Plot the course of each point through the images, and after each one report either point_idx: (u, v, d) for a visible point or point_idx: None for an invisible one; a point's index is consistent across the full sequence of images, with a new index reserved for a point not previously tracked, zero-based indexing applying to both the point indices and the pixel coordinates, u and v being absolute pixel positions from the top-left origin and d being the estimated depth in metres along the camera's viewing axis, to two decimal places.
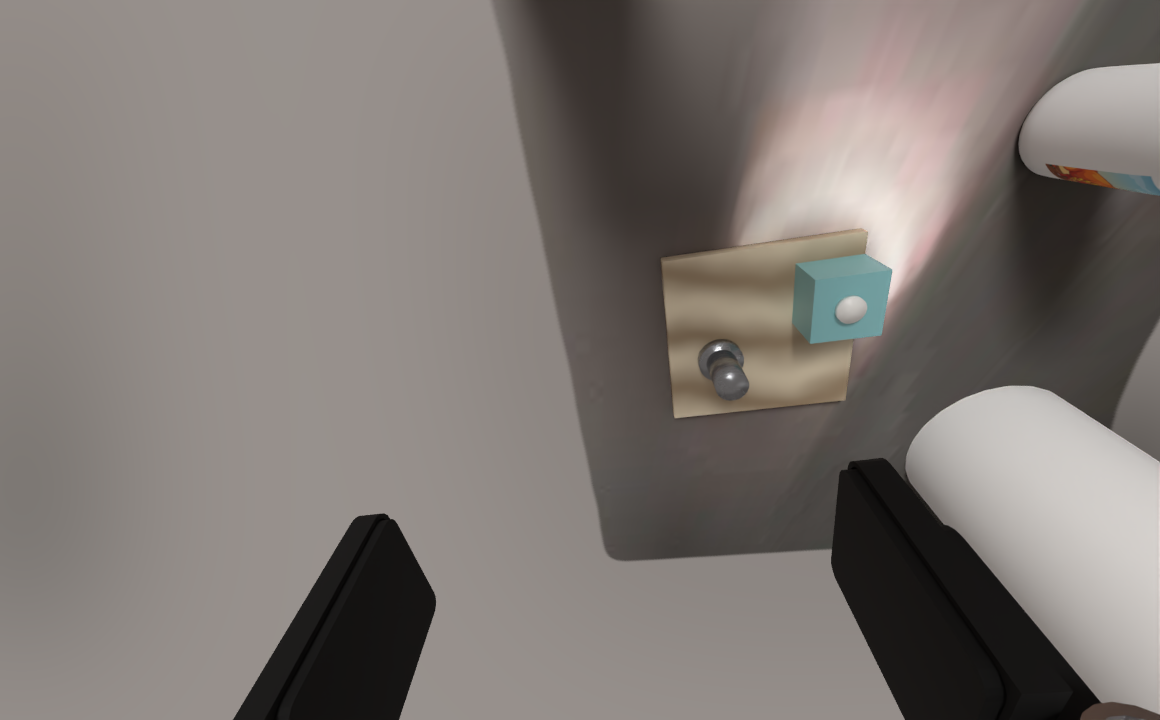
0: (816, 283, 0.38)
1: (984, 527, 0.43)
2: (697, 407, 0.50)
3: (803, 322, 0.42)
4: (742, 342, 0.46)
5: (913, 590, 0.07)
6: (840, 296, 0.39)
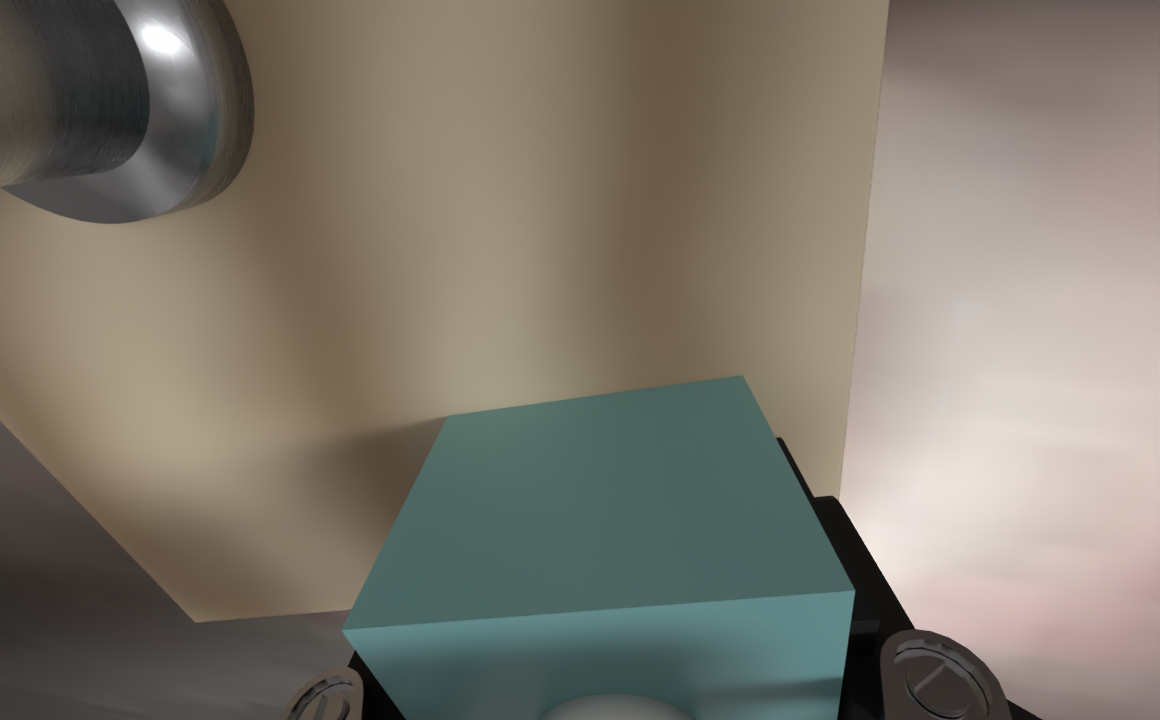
0: (822, 597, 0.05)
1: None
2: None
3: (475, 509, 0.07)
4: (267, 195, 0.08)
5: None
6: (700, 703, 0.06)
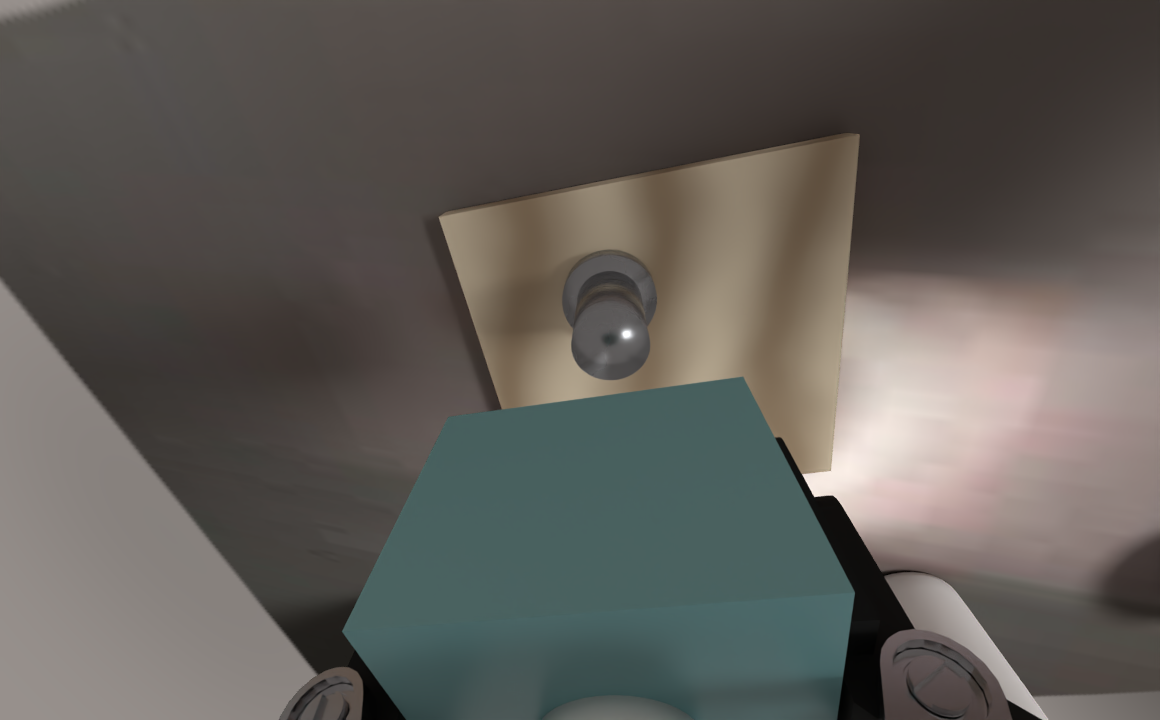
0: (822, 599, 0.05)
1: None
2: (478, 267, 0.22)
3: (476, 511, 0.07)
4: None
5: None
6: (700, 704, 0.06)
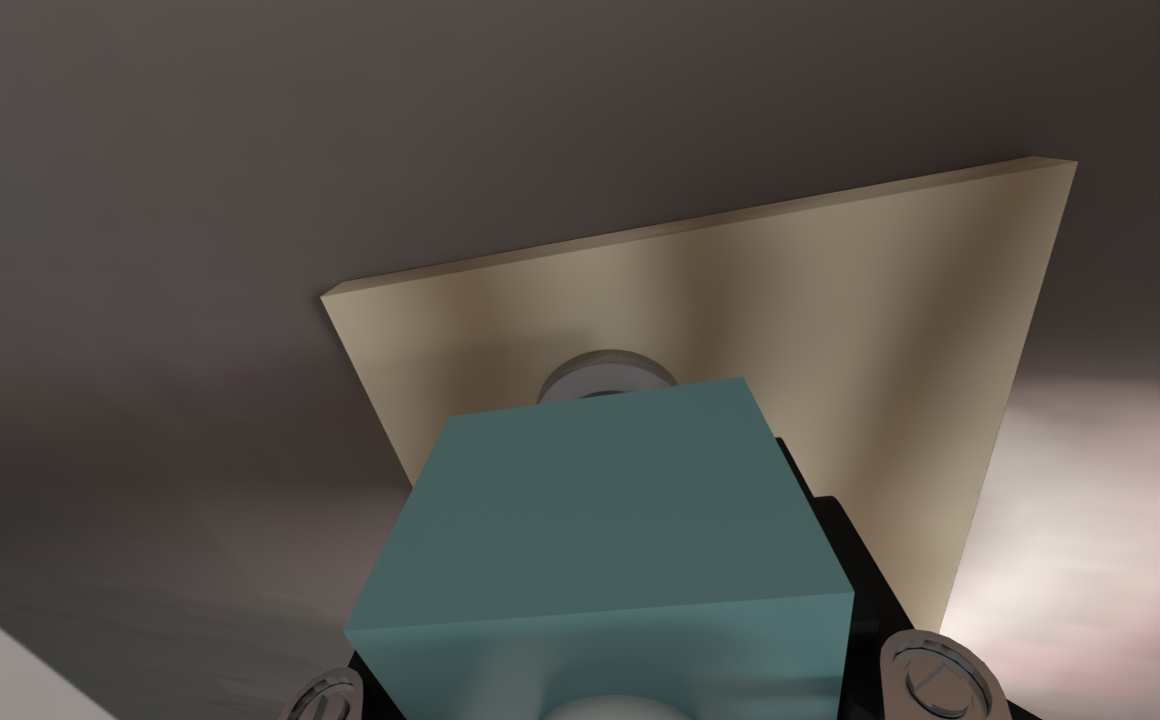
0: (822, 598, 0.05)
1: None
2: (394, 373, 0.13)
3: (476, 510, 0.07)
4: None
5: None
6: (700, 704, 0.06)
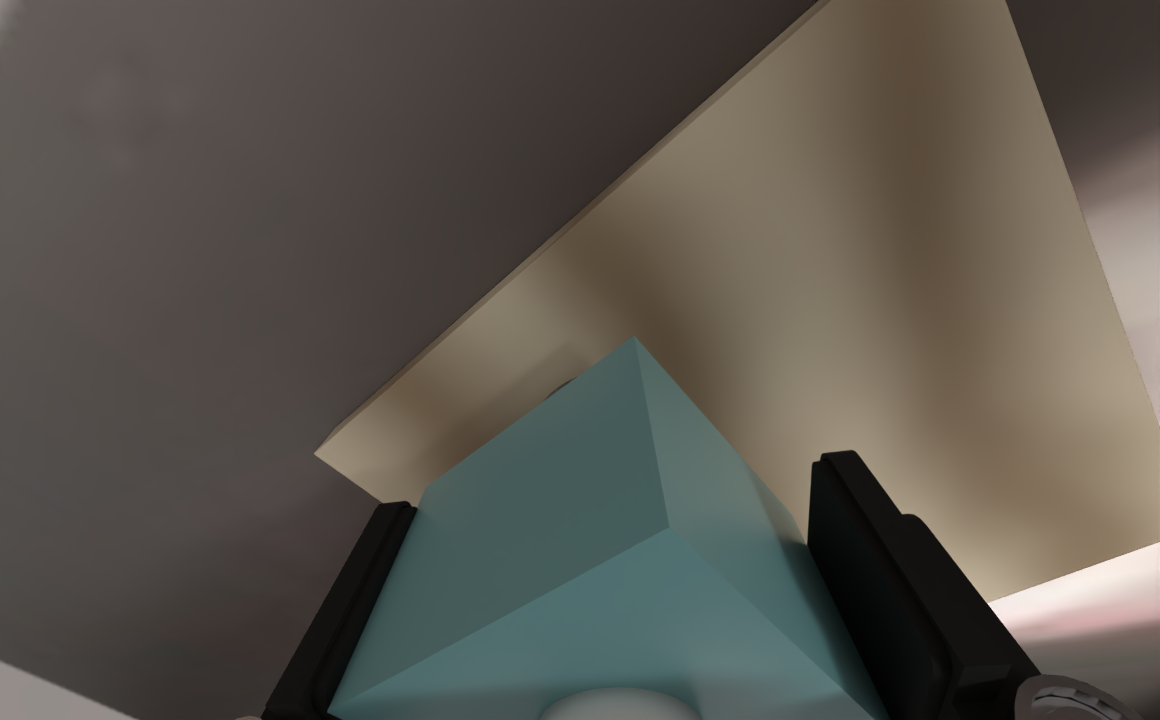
0: (650, 544, 0.05)
1: None
2: (407, 488, 0.14)
3: (424, 567, 0.08)
4: None
5: (874, 574, 0.07)
6: (654, 678, 0.06)
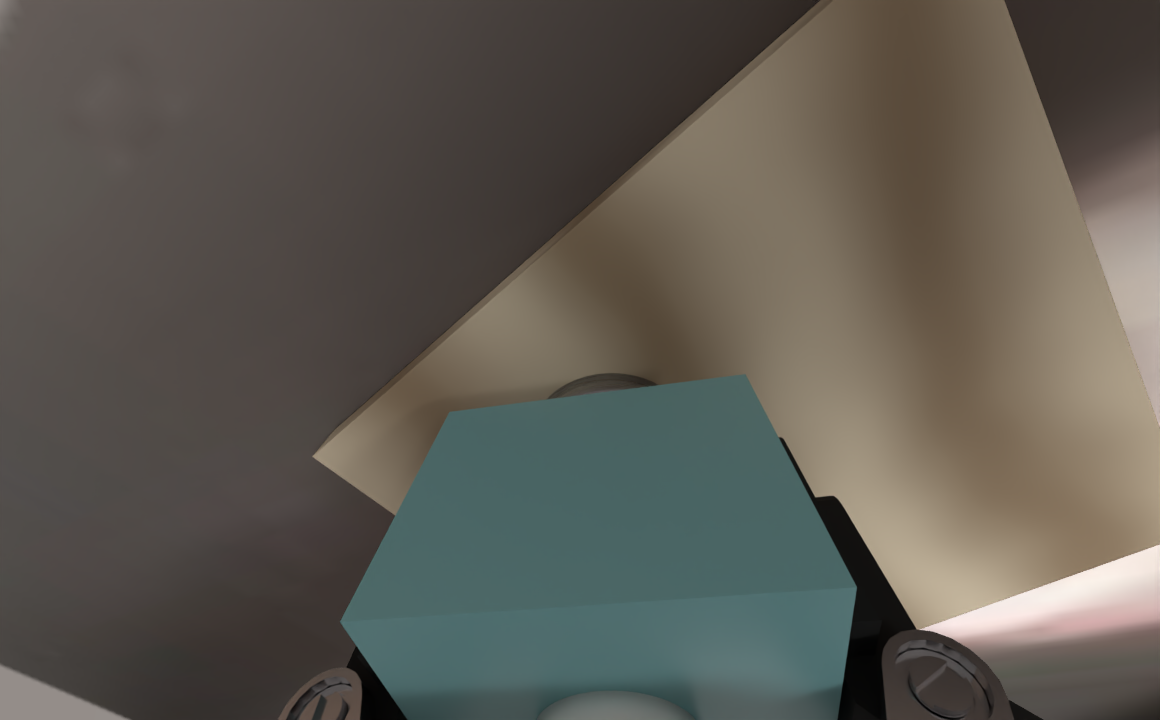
0: (359, 634, 0.06)
1: None
2: (405, 491, 0.14)
3: None
4: None
5: None
6: (541, 692, 0.06)
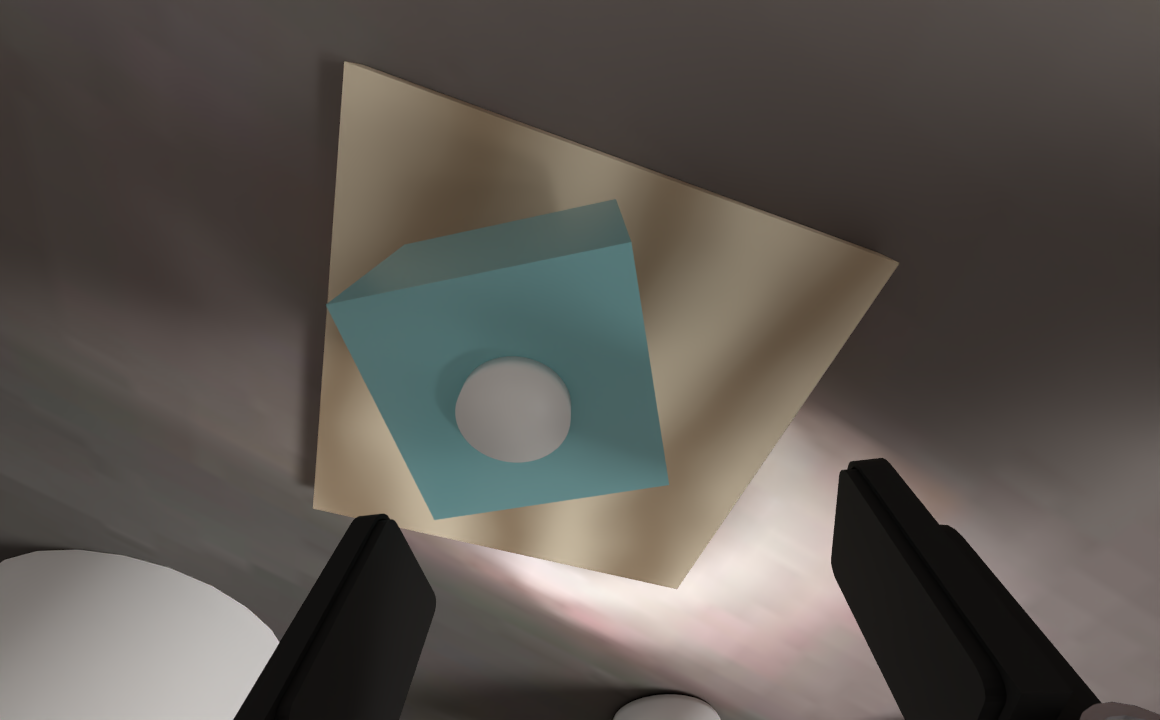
0: (339, 317, 0.09)
1: None
2: (374, 170, 0.14)
3: None
4: None
5: (913, 590, 0.07)
6: (460, 363, 0.10)
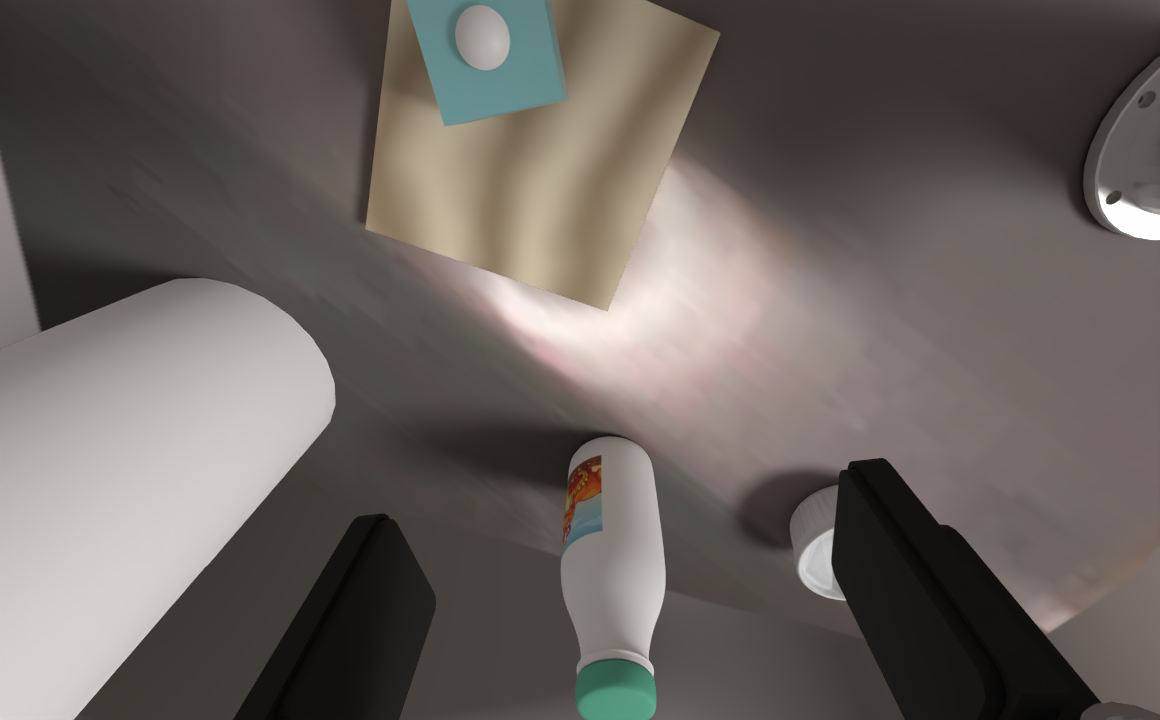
0: None
1: (116, 367, 0.26)
2: None
3: None
4: None
5: (913, 590, 0.07)
6: (458, 11, 0.21)
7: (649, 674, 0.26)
